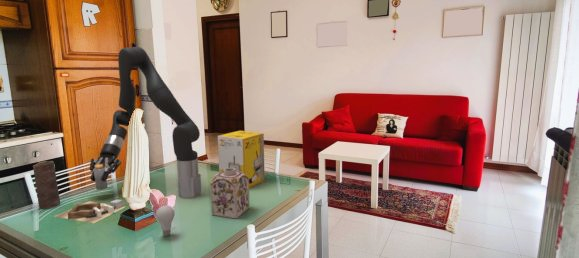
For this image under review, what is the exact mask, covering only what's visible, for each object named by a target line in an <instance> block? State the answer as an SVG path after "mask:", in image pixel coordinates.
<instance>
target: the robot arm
mask: <svg viewBox="0 0 579 258" xmlns="http://www.w3.org/2000/svg"><path fill="white" fill-rule="evenodd" d="M117 60H118V76H119V98H118V107H119V108H120V109H117V110H116V111H115V112H114V113H113V115H112V125H111V128H110V132H109V134H108V135H107V138H106V139H105V140H104V143H103V145H102V148H100V151H99V156H98V157H97V158H95V159H94V158H91V159H90V163H89V170H90V172H92V173H91V175H90V177H89V179H90V181H92V182H95V177H94V168H95V165H97V164H103V167H105V172H104V173H103V175H102V178H101V180H102V181H103V182H105V181H106V180H107V179H108V178H109V175H111V174H114V173H115V172H116V171H117V169H118V168H119V167H120V165H121V164H122V161H121V160H120V159H119V155H120V153H121V150H122V148H123V145H124V142H125V139H126V137H127V135H128V130H127V129H126V128H125V127H128V125H129V121H130V118H131V115H132V113H133V111H134V110H135V111H136V99H137V98H136V97H137V90H136V87H135V85H134V83H133V81H132V76H131V74H132V70H133V69H139V70H140V71H141V73H142V74H143V75H144V78H145V84H146V93H147V96H148V97H149V99H150V101H151V102H152V103H153V105H154V106H155V107H156V109H158V110H159V111H161V112H162V113H164V114H165V115H166V116H167V117H169V118H170V119H171V120H172V121H173V122H174V123H175V125H176V126H175V127H174V128H173V130H172V136H171V138H172V144H173V152H174V155H175V157H176V158H175V159H176V169H177V171H176V172H177V173H176V174H177V186H178V197H179V198H181V199H192V198H193V199H195V198H196V197H198V196H200V195H201V194H202V177H201V176H202V175H201V173H199V157H198V154H199V153H198V152H197V151H196V150H193V144H192V143H195V142H196V141H198V140H199V138H200V136H201V134H200V129H199V127H198V126H197V124H196V122H195V121H193V120H192V118H191V117H190V116H189V114H188V113H186V111H185V110H184V109H183V107H182V106H181V104H180V103H179V102H178V100H177V99H176V97H175V96H174V94H173V92H172V91H171V90H170V88H169V87H168V85H167V84H166V83H165V81H164V80H163V78H162V77H161V75H160V74H159V72H158V71H157V69H156V67H155V65H154V64H153V62H152V60H151V58H150V56H149V55H148V53H147V52H146V50H145V49H144V48H143V47H140V46H131V47H123V48H121V49H120V50H119V52H118V58H117ZM123 126H125V127H123ZM107 181H108V180H107Z"/></svg>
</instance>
